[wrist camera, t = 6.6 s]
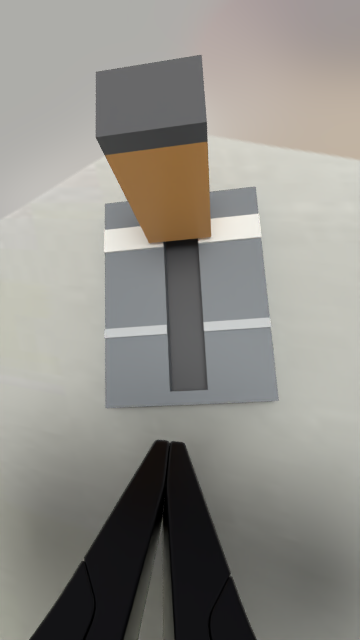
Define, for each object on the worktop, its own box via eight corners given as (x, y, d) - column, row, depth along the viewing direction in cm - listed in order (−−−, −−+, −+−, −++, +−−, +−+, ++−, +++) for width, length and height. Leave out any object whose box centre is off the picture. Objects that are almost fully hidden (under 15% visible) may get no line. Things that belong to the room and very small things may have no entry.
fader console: (274, 399, 17) (279, 401, 15) (112, 406, 18) (104, 408, 16) (253, 198, 19) (255, 184, 18) (111, 214, 20) (104, 202, 19)
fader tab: (211, 246, 18) (207, 121, 9) (153, 252, 19) (95, 137, 10) (208, 208, 19) (201, 55, 10) (152, 214, 19) (96, 71, 10)
